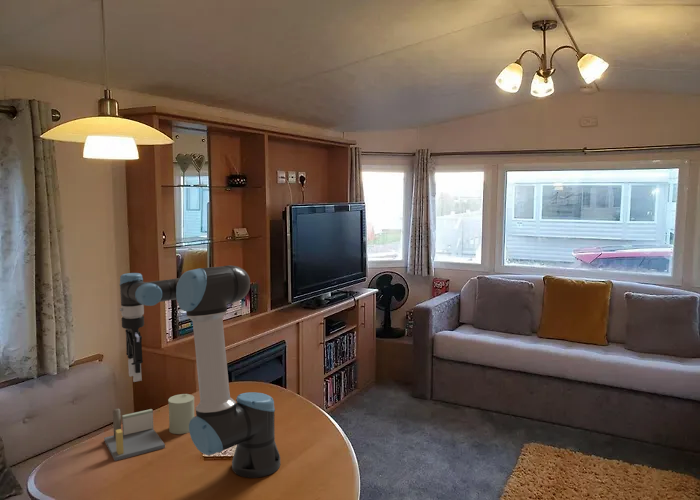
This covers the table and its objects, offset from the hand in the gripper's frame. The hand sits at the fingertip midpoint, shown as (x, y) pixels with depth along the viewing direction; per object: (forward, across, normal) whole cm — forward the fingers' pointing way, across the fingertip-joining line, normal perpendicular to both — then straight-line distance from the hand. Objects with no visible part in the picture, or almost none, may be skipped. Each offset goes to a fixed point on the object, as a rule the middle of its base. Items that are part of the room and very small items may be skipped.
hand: (135, 378), depth 196 cm
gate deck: (+19, +13, -4) cm, 23 cm away
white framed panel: (+17, +7, -1) cm, 19 cm away
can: (+19, +10, +14) cm, 25 cm away
